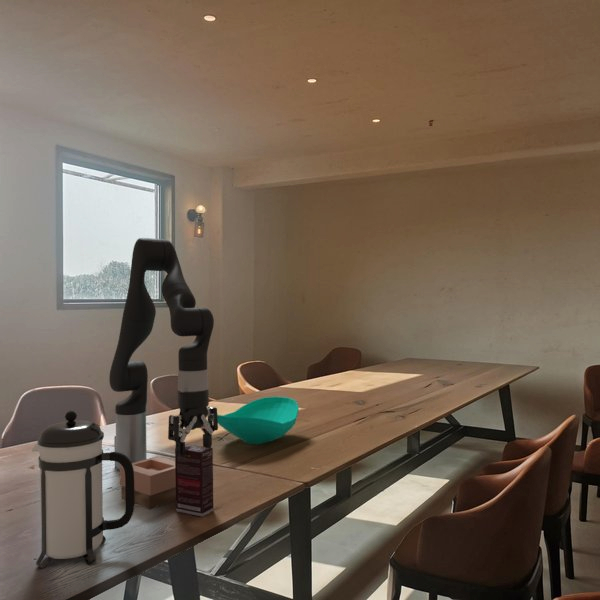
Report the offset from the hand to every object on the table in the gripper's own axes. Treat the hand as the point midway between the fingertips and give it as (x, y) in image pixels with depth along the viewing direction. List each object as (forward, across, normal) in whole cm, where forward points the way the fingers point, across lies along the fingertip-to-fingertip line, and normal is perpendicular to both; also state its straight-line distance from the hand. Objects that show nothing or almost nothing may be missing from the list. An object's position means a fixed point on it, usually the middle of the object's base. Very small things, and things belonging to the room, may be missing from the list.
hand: (194, 452), depth 140 cm
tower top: (+11, 0, -16) cm, 20 cm away
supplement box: (+15, 0, 0) cm, 15 cm away
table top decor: (+14, -59, -32) cm, 69 cm away
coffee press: (+15, +30, -2) cm, 34 cm away
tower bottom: (+15, 0, -16) cm, 22 cm away
